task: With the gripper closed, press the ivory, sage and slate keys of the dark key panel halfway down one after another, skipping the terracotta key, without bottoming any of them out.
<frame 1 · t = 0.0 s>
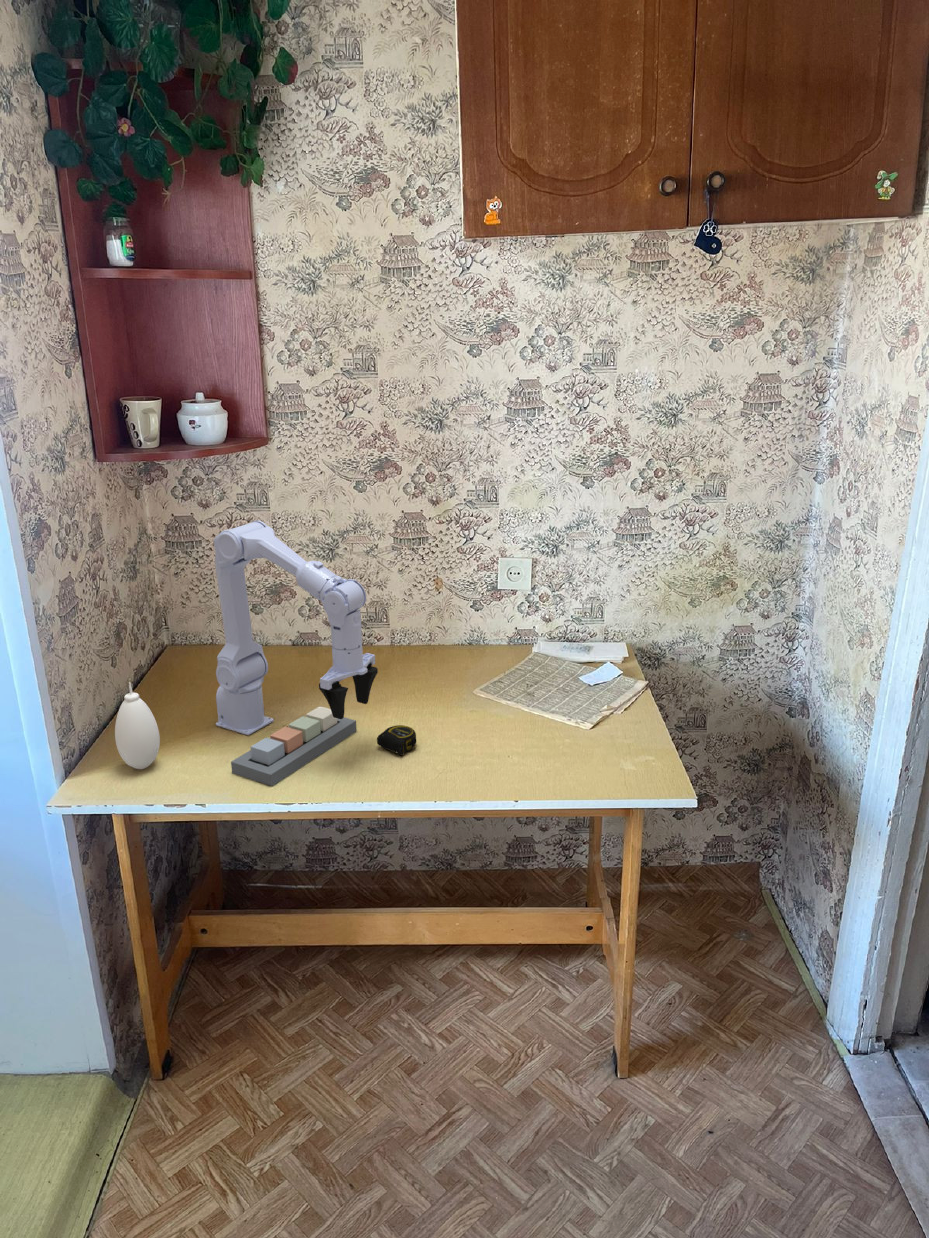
hand: (350, 709, 183), 10 cm above the table, fingers open, 7 cm apart
white bulb syringe: (141, 767, 183), on the table
tape measure: (398, 750, 189), on the table
key panel: (297, 751, 188), on the table
sage key: (304, 728, 189), point 4 cm above the table, slide at 0.0 cm
slate key: (267, 751, 180), point 4 cm above the table, slide at 0.0 cm
ivory key: (321, 718, 193), point 4 cm above the table, slide at 0.0 cm
terracotta key: (286, 739, 185), point 4 cm above the table, slide at 0.0 cm
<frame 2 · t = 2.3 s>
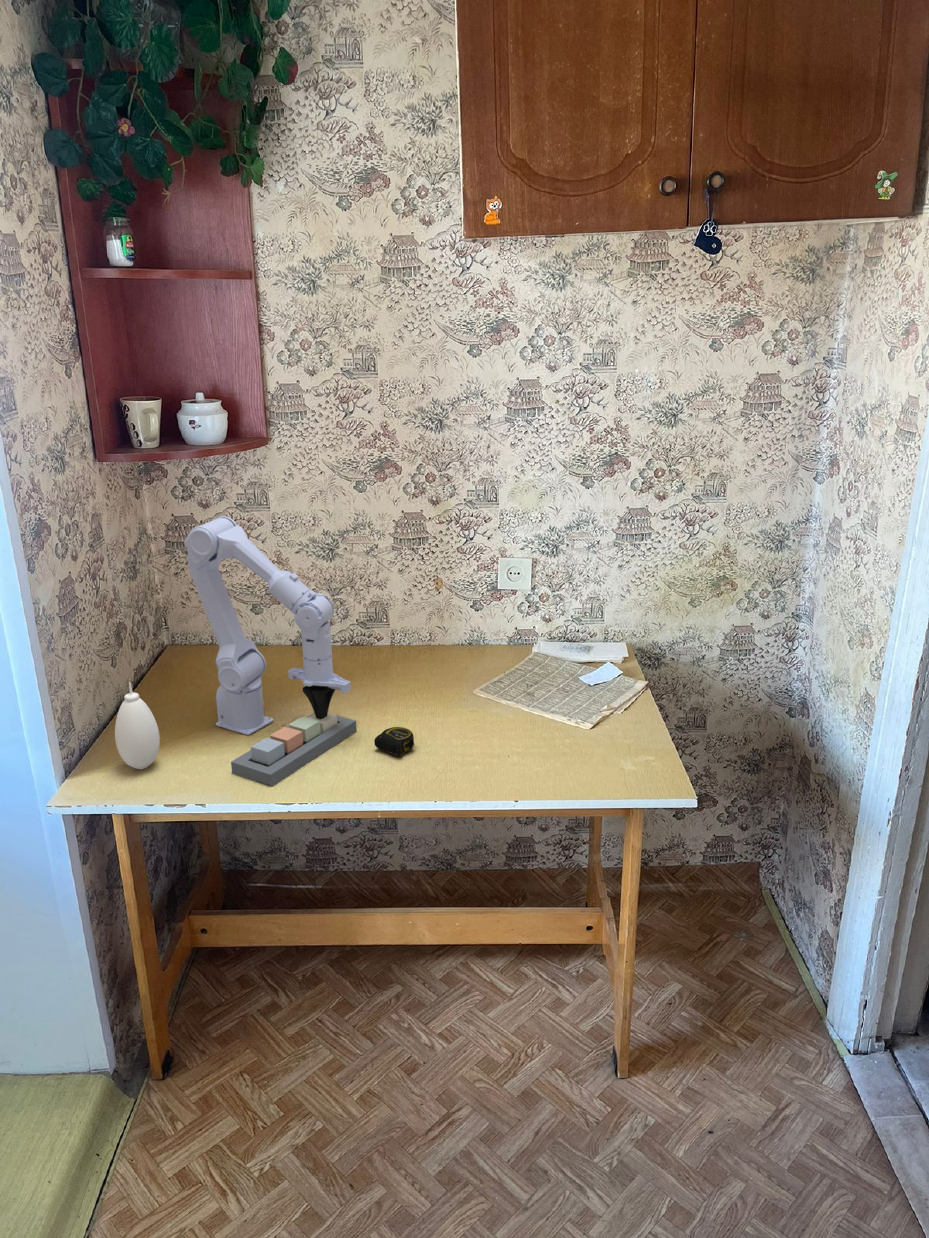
hand: (321, 717, 193), 4 cm above the table, fingers closed, pressing on ivory key
ivory key: (322, 723, 194), point 3 cm above the table, slide at 1.0 cm, touching gripper
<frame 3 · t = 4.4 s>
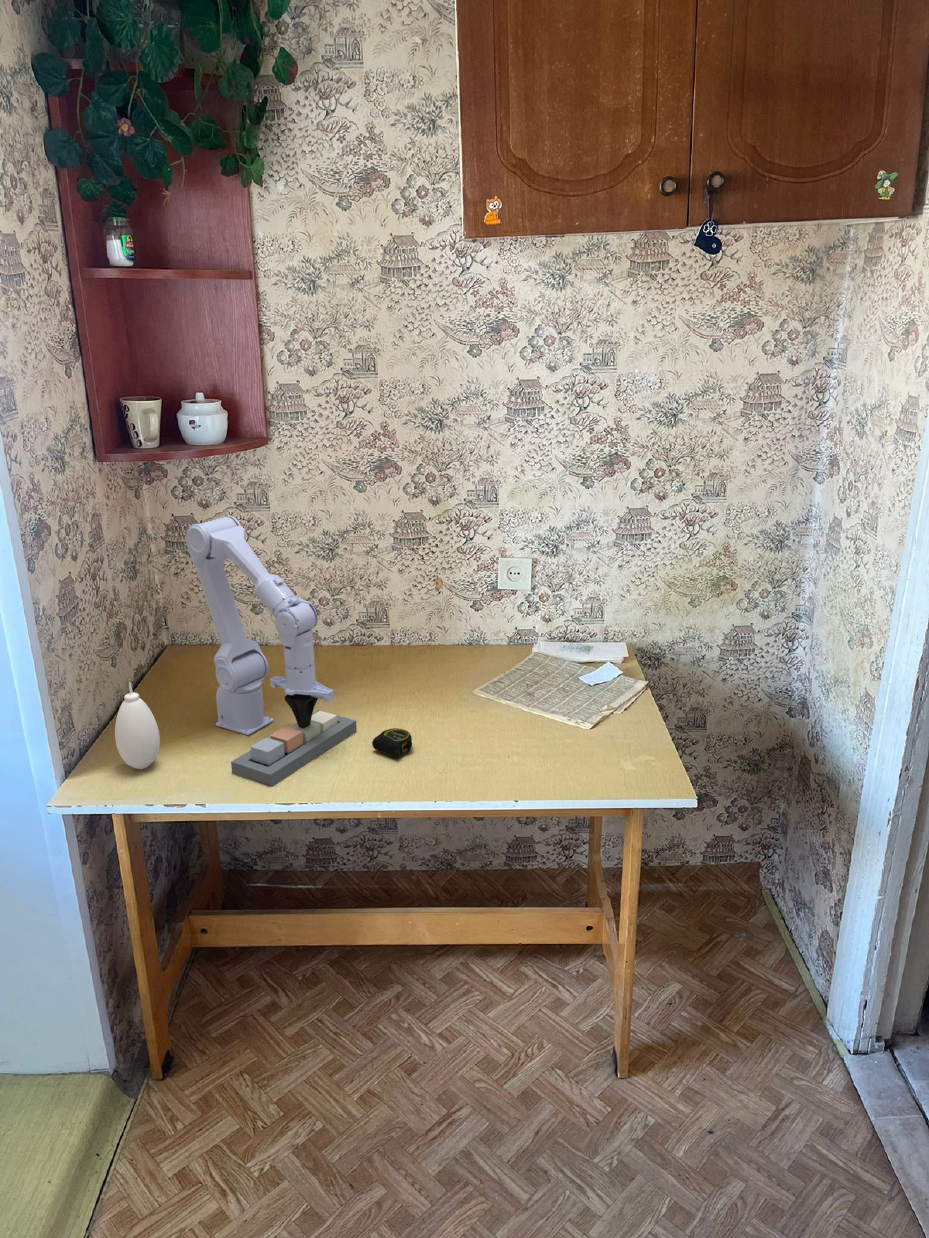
hand: (304, 726, 189), 4 cm above the table, fingers closed, pressing on sage key
sage key: (304, 732, 189), point 3 cm above the table, slide at 0.7 cm, touching gripper
ivory key: (322, 723, 194), point 3 cm above the table, slide at 1.0 cm
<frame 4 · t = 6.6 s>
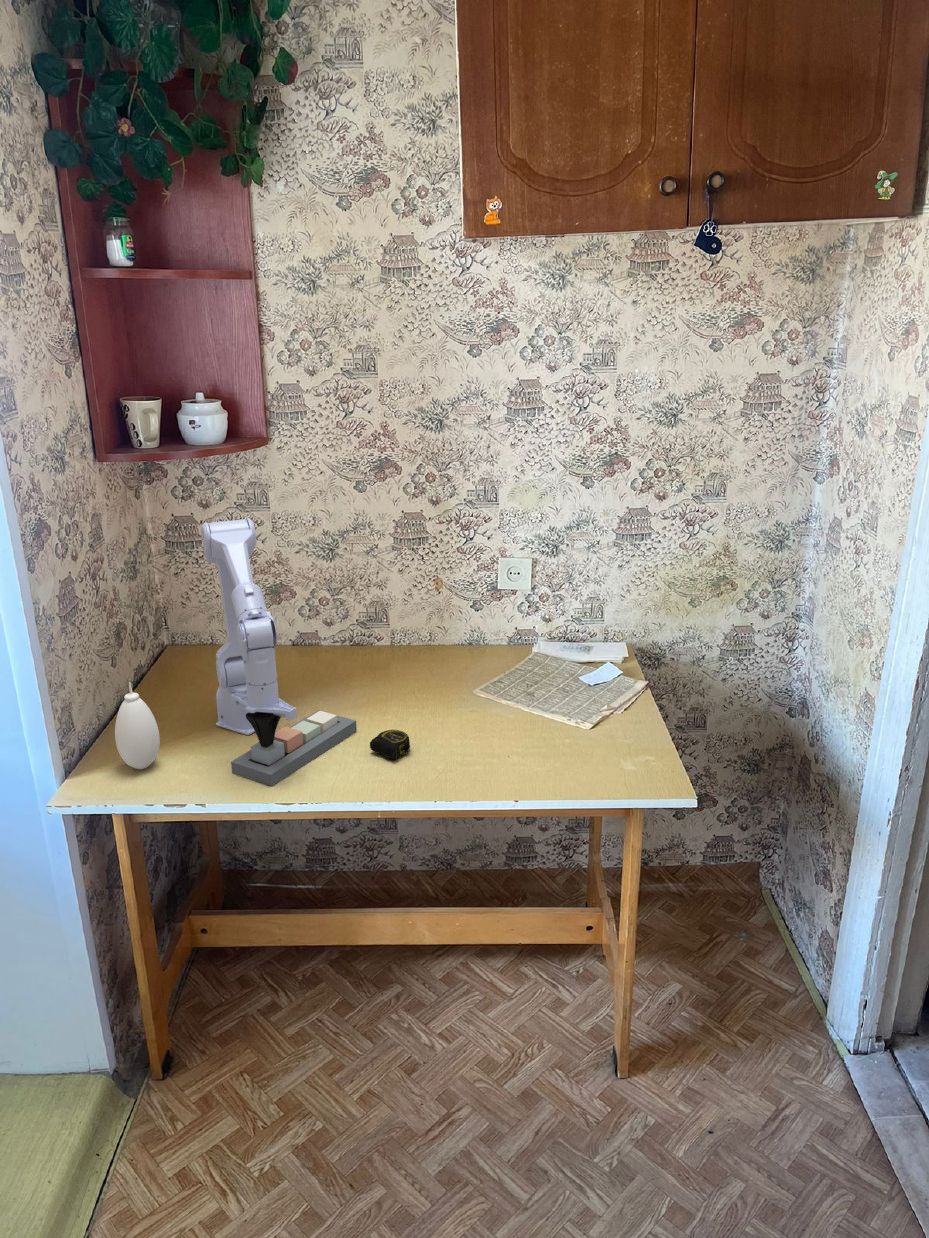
hand: (267, 745, 180), 5 cm above the table, fingers closed, pressing on slate key
sage key: (304, 733, 189), point 3 cm above the table, slide at 1.0 cm
slate key: (267, 751, 180), point 4 cm above the table, slide at 0.0 cm, touching gripper
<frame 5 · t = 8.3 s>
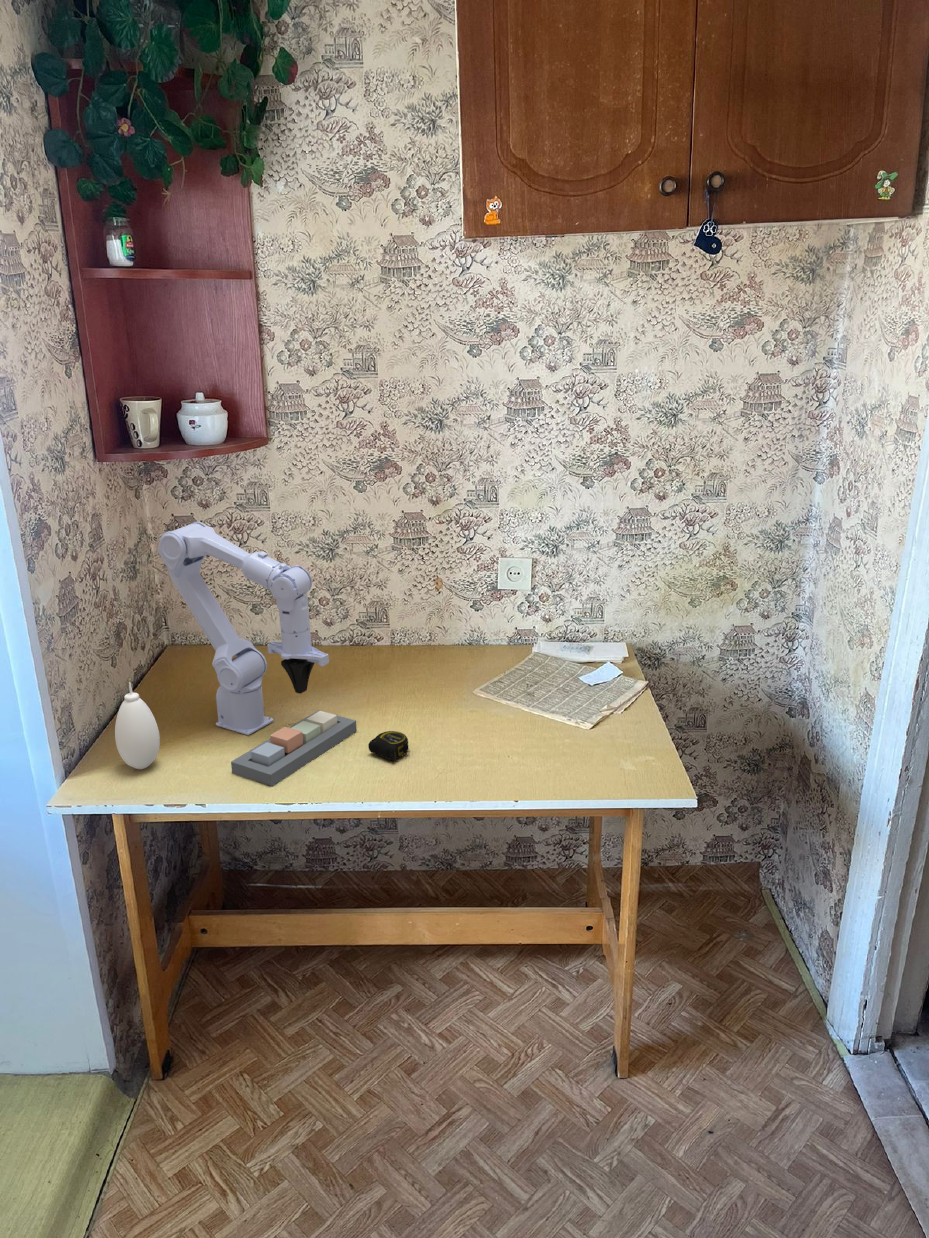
hand: (301, 691, 191), 10 cm above the table, fingers closed
slate key: (268, 755, 181), point 3 cm above the table, slide at 1.0 cm
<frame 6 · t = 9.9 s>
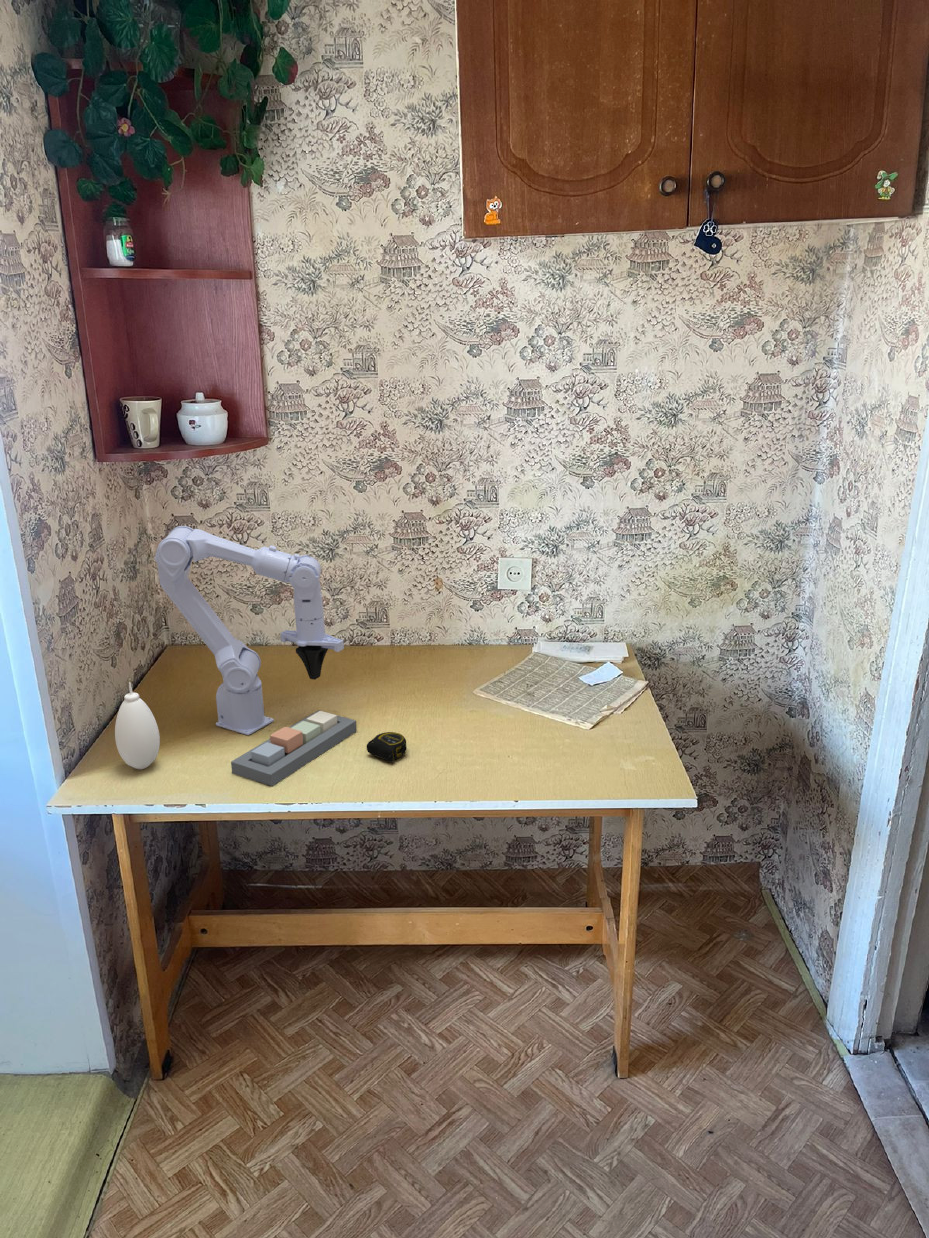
hand: (315, 677, 197), 10 cm above the table, fingers closed
at the end: ivory key slide at 1.0 cm; sage key slide at 1.0 cm; slate key slide at 1.0 cm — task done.
